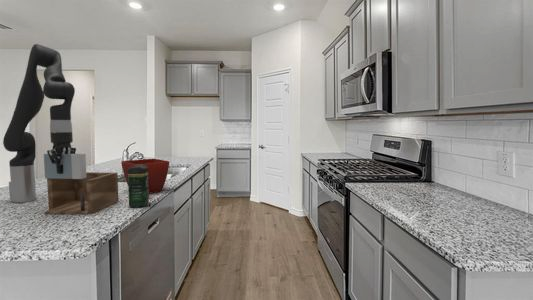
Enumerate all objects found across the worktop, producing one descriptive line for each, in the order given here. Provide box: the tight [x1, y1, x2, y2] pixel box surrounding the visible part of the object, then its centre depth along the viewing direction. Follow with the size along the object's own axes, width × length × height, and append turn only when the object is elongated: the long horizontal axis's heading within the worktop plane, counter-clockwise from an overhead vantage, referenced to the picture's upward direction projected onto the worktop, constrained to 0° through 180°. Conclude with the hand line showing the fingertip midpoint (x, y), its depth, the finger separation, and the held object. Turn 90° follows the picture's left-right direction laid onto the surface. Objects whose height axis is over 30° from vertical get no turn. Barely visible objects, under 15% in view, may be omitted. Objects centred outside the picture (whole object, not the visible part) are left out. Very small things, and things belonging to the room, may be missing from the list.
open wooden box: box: [43, 171, 119, 215], centre depth 136 cm, size 22×21×14 cm
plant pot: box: [121, 158, 170, 194], centre depth 168 cm, size 19×19×17 cm
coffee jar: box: [128, 165, 150, 209], centre depth 139 cm, size 10×8×19 cm
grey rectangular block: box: [43, 153, 87, 179], centre depth 127 cm, size 16×4×10 cm, turn 86°
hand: (63, 172), depth 127 cm, fingers closed on grey rectangular block, 3 cm apart
